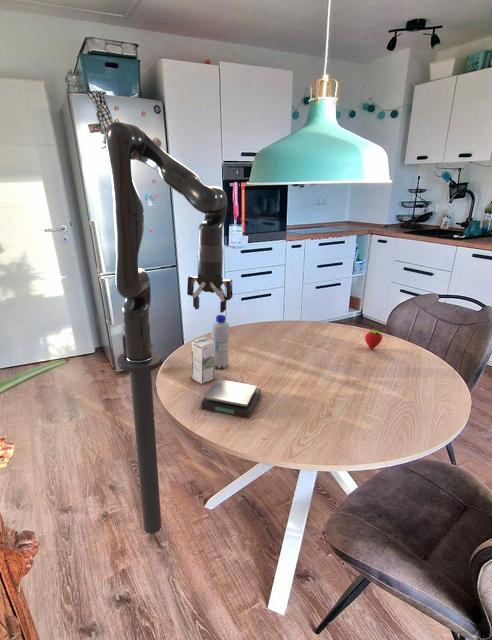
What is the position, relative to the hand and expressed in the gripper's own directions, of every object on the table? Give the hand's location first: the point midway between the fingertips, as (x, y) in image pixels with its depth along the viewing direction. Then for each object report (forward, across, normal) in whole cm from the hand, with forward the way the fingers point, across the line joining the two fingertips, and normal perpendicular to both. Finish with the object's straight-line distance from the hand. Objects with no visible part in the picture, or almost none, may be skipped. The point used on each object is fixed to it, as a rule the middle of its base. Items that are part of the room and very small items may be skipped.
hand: (209, 310), depth 124 cm
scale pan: (+22, -12, +11) cm, 27 cm away
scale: (+25, -12, +11) cm, 30 cm away
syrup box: (+26, +2, 0) cm, 26 cm away
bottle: (+26, 0, -12) cm, 28 cm away
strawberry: (+25, -56, -50) cm, 79 cm away
